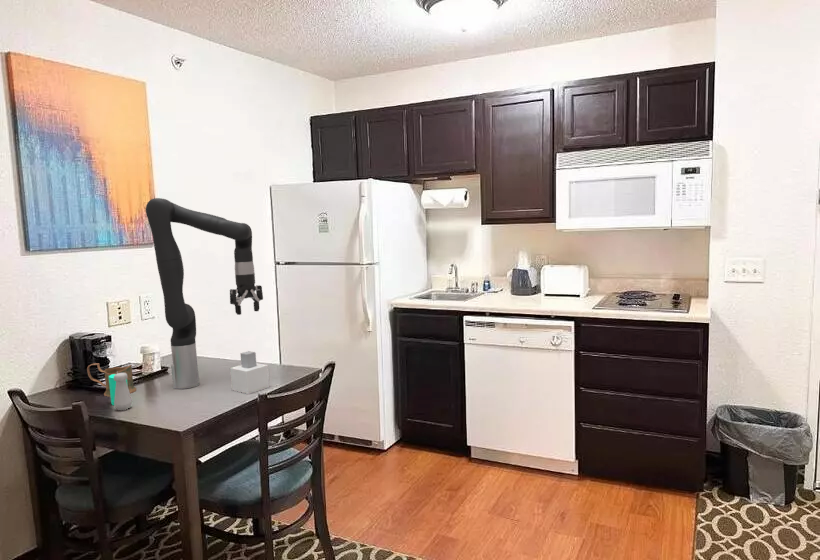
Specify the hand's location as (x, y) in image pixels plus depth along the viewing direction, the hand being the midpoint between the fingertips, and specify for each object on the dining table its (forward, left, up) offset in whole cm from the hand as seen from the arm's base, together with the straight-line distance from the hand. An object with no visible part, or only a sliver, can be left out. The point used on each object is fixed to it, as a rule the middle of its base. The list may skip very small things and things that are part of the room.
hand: (247, 312), depth 229 cm
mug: (-54, -1, -28) cm, 61 cm away
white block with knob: (+1, -12, -28) cm, 30 cm away
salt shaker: (-42, -24, -28) cm, 56 cm away
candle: (-46, -16, -28) cm, 56 cm away
